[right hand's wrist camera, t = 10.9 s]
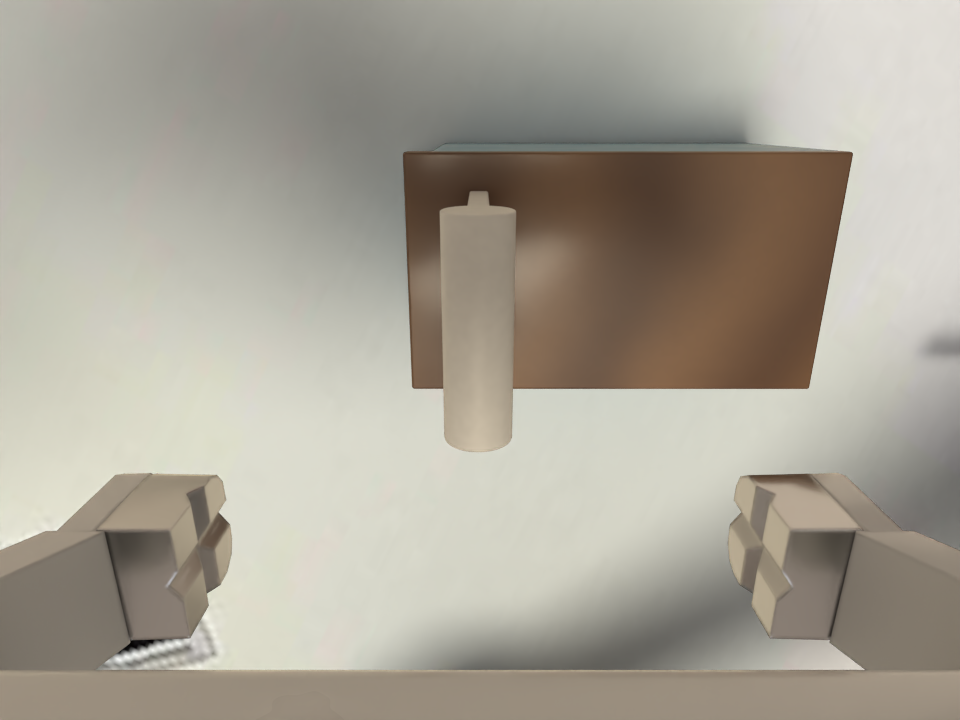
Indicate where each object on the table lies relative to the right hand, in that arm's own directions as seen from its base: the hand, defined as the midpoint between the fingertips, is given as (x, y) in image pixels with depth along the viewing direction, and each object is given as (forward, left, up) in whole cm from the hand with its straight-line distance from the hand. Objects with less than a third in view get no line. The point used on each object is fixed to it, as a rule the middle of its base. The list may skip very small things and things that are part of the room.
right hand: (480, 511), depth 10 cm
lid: (+4, +3, -17) cm, 18 cm away
